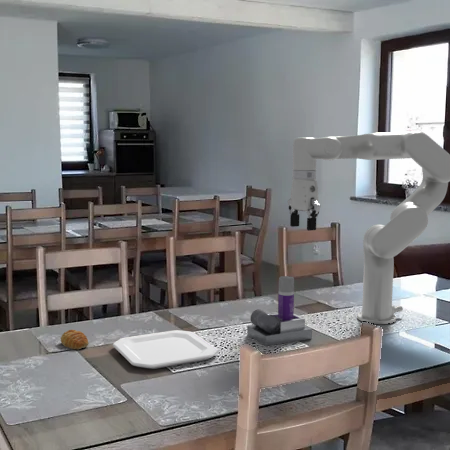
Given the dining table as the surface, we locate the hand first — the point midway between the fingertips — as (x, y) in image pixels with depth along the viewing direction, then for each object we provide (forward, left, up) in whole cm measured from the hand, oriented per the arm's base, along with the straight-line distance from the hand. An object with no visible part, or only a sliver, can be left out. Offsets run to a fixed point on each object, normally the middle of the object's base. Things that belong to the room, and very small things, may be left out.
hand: (302, 228), depth 201 cm
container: (+15, +14, -28) cm, 34 cm away
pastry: (+74, -6, -31) cm, 80 cm away
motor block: (+17, +14, -30) cm, 37 cm away
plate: (+53, +12, -31) cm, 63 cm away
